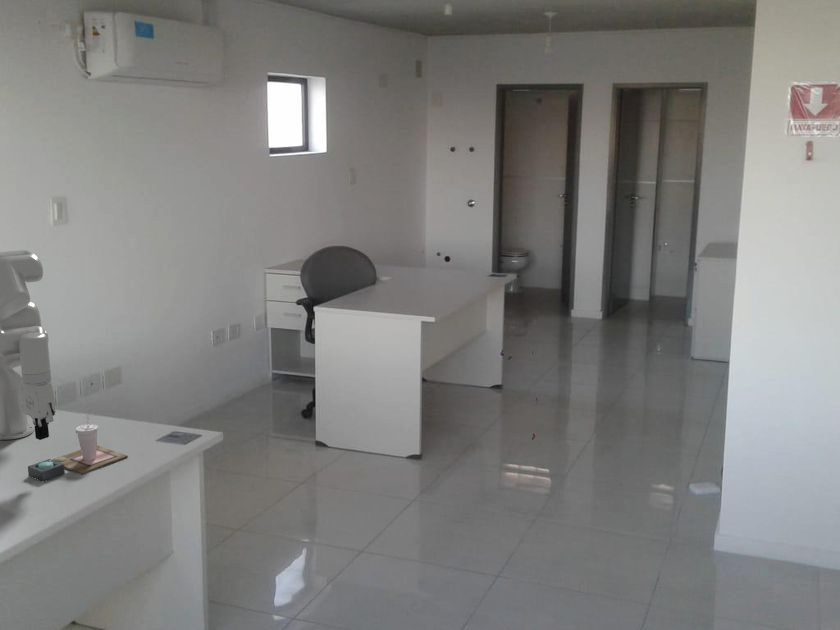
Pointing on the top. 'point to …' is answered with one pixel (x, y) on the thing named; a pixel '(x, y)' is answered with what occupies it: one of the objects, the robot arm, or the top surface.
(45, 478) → the button housing
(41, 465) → the button
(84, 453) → the smoothie
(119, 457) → the picture board
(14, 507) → the top surface
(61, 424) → the top surface
